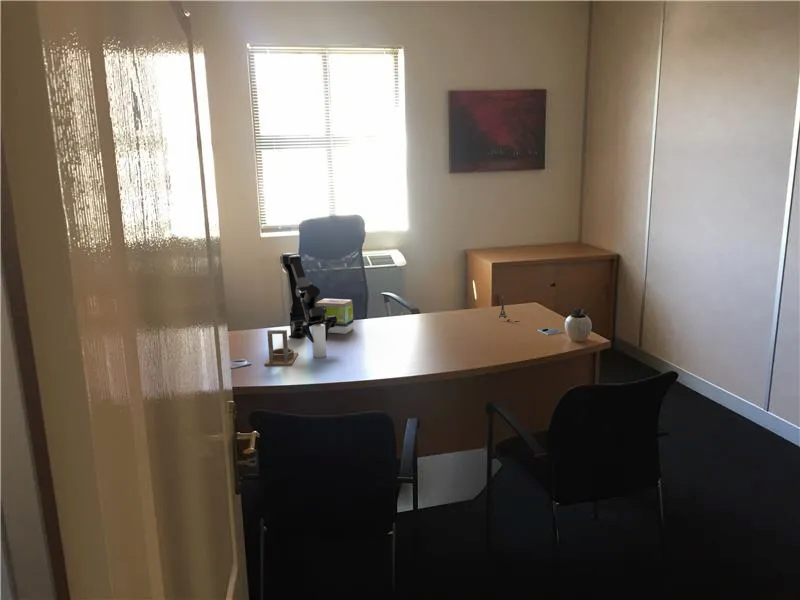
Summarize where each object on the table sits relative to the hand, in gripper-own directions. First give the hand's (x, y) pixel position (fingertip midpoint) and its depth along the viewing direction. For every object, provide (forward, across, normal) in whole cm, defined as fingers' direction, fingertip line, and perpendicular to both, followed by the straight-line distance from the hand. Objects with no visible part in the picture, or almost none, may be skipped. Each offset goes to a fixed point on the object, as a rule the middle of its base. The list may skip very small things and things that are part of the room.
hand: (319, 341), depth 261 cm
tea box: (-20, +19, +30) cm, 40 cm away
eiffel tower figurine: (-3, +100, +14) cm, 101 cm away
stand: (+2, -15, +8) cm, 17 cm away
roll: (+4, 0, +6) cm, 7 cm away
